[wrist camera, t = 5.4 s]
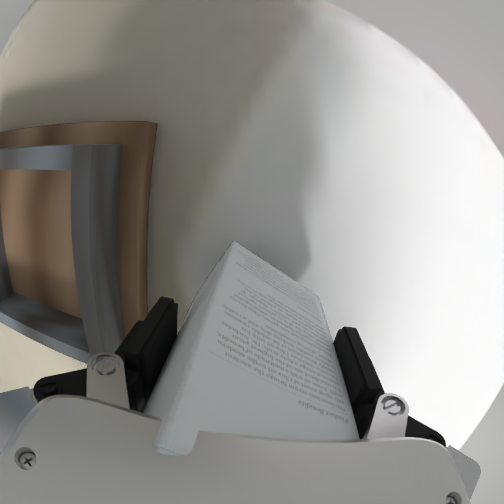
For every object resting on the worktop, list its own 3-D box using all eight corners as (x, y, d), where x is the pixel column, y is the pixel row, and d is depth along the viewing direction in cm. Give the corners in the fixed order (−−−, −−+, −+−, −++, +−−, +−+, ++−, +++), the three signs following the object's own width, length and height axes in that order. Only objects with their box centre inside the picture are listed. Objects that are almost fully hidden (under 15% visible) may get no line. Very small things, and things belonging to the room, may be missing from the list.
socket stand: (157, 123, 14) (119, 116, 10) (149, 349, 19) (128, 389, 15) (-1, 133, 14) (-38, 138, 9) (14, 300, 19) (-13, 323, 15)
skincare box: (194, 295, 16) (107, 481, 5) (233, 237, 15) (152, 443, 3) (278, 344, 17) (280, 532, 6) (322, 296, 16) (381, 497, 4)
